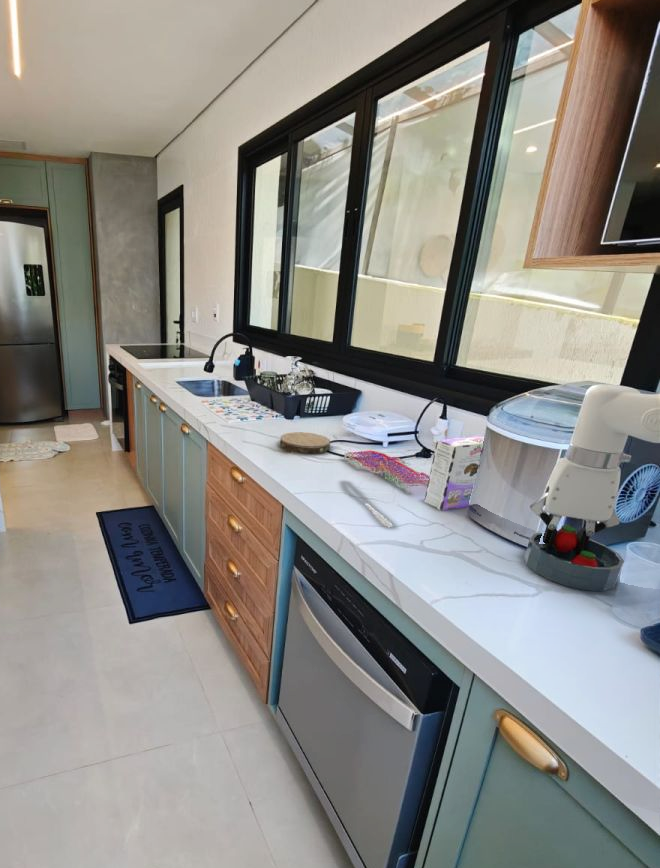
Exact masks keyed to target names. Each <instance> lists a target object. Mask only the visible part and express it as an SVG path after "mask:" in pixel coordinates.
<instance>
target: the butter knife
mask: <svg viewBox="0 0 660 868" xmlns="http://www.w3.org/2000/svg"><path fill="white" fill-rule="evenodd" d="M364 504H365V506H366V508H368V509H369V510H370V512H371V513H372V514H373V515H374V517H376V519H377V520H378V521H379V522H380V523H381V524H382V525H383V526H384V527H386V528H389V529H390V528H391V529H392V528H393V527H394V524H392V522H391V521H390V520H389V519H387V517H385V516H384V515H383V514H382V513H380V512H379V511H377V509H375V507H373V506H371V505H370V503H368V502H365V503H364Z"/></svg>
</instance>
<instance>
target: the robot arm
mask: <svg viewBox="0 0 660 868" xmlns="http://www.w3.org/2000/svg"><path fill="white" fill-rule="evenodd" d="M580 406H581V407H580V410H579V413H578V416H577V418H576V419H577V420H576V423H575V425H574V429H573V433H572V436H571V438H570V442H569V445H568V447H567V451H566V455H565V457H560V458H559V459H558V460H557V462H556V463H555V465H554V467H553V469H552V472H551V474H550V476H549V478H548V481H547V483H546V485H545V487H544V491H543V494H542V496H540V497H539V498H538V499H536V501H533V502H532V504H530V505H529V508H530V511H531V512H532V513H533V514H534V515H536V516H538V517H539V518H540V519H541V521H542V522H543V523H544V524H545V530H544V532H545V533H544V536H543V542H544V543H545V545H546V547H547V549H550V550H551V549H552V548H553V545H554V542H555V539H556V536H557V533H558V524H559V523H560V521H561V519H563V518H562V517H566V518H572V519H578V520H582V527H581V528H579V529H578V530H576V536H577V538H578V544H577V546H576V547H575V548H574V549H573V550H574V552H575V554H577V555H579V554H580V553H581V551H582V550H585V549H586V546H587V543H588V540H589V539H591V538H590V537H593V536H594V535H595V534H596V533H598V532H601V531H603V530H605V529H606V528H612V527H615V526H618V525H620V523H621V522H620V519H619V517H618V515H617V513H616V510H615V506H616V502H617V499H618V493H619V488H620V483H621V474H622V473H621V472H622V471H621V468H620V466H621V464H622V463H630V462H631V459H632V455H631V454H627V453H625V452H624V449H625V447H626V443H627V441H628V438H629V437H630V436H631V437H633V438H636V439H638V440H642V441H645V442H649V443H653V444H660V392H659V393H654V394H653V393H651V394H650V393H641V391H640V390H638V389H636V388H633V387H630V386H625V385H618V384H610V383H609V384H608V383H607V384H606V383H604V384H603V383H601V384H594V385H591V386H590V387H589V388H588V389H586V392H585V395H584V397H583V401H582V403H581V405H580ZM543 508H544V509H545V510H544V509H543Z"/></svg>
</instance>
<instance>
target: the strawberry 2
mask: <svg viewBox="0 0 660 868" xmlns="http://www.w3.org/2000/svg"><path fill="white" fill-rule="evenodd" d="M571 563H574V564H579V565H584V566H589V567H598V566H597V563H596V560H595V554H593V553H591V552H588V551H581V553H580V554H579V555H578V556H576V557H574V558H573V559H572V561H571Z"/></svg>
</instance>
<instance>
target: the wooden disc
mask: <svg viewBox="0 0 660 868" xmlns="http://www.w3.org/2000/svg"><path fill="white" fill-rule="evenodd" d="M279 443H280V444H279V448H280V449H281V450H283V451H285V452H287V453H290V454H292V453H297V454H305V455H318V454H324V453H326V452H328V451H329V450H330V446H331V445H330V444H331V440H330V438H328V437H327V436H324V435H323V434H318V433H313V432H303V431H302V432H301V431H300V432H299V431H297V432H295V431H293V432H287V433H283V434H282V435H281V436H280V439H279Z"/></svg>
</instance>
